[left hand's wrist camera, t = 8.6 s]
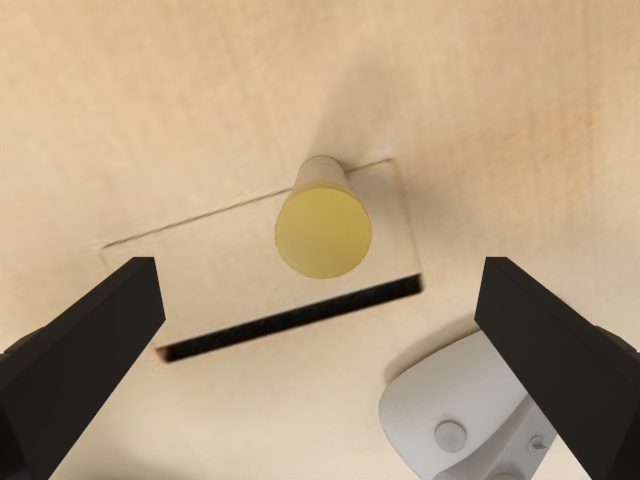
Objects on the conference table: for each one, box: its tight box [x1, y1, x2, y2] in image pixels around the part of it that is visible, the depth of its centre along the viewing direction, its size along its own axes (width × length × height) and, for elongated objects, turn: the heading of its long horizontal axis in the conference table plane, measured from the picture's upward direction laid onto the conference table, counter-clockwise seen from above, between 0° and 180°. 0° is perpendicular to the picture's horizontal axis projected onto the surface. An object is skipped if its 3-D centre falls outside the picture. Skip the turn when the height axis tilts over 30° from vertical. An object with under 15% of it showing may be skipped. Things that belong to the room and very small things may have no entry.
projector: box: [379, 330, 558, 480], centre depth 35 cm, size 22×23×15 cm
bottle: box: [292, 156, 352, 192], centre depth 26 cm, size 5×5×16 cm
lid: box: [275, 180, 372, 279], centre depth 20 cm, size 5×5×2 cm
